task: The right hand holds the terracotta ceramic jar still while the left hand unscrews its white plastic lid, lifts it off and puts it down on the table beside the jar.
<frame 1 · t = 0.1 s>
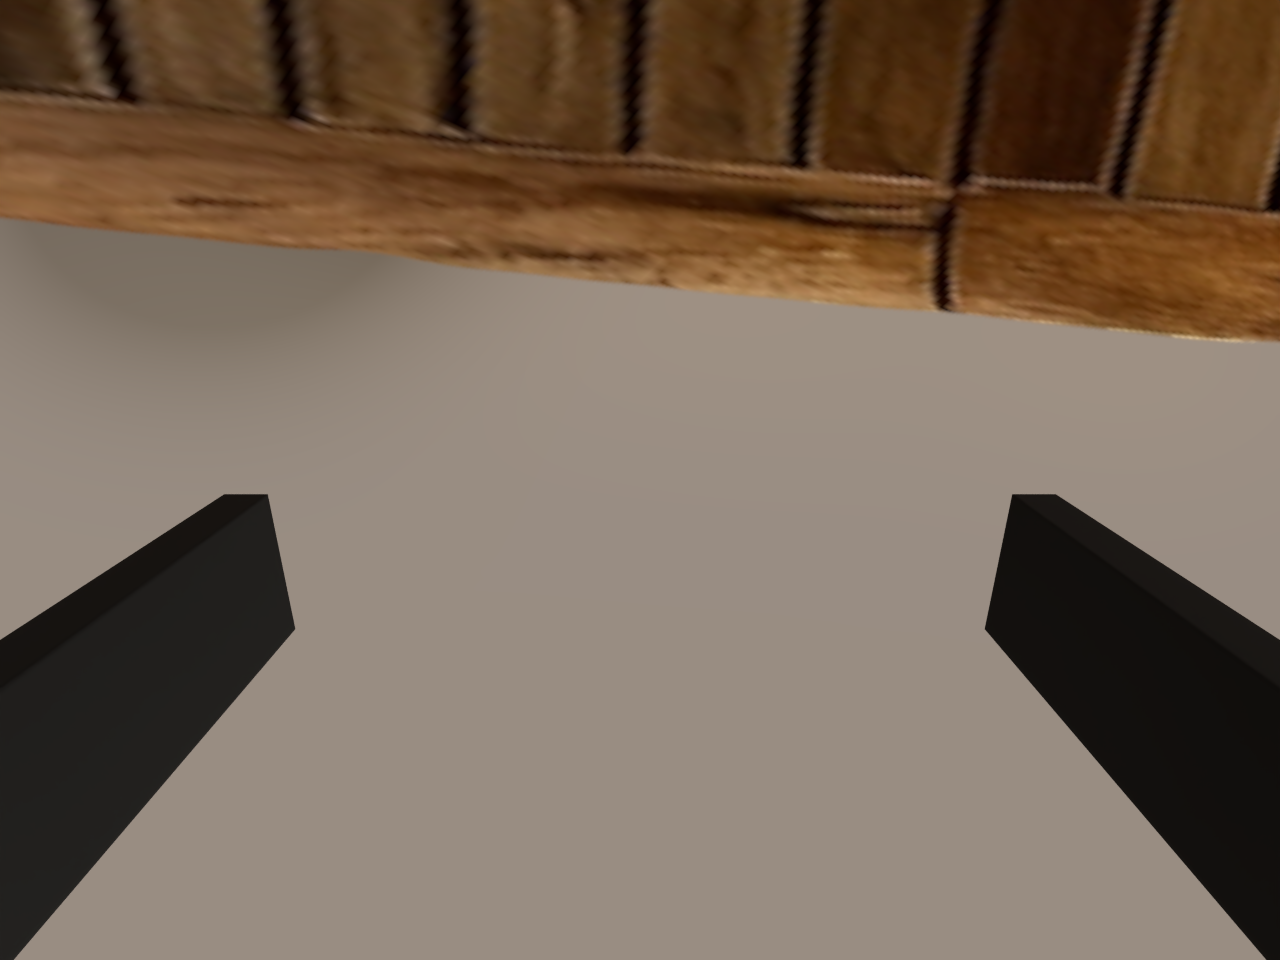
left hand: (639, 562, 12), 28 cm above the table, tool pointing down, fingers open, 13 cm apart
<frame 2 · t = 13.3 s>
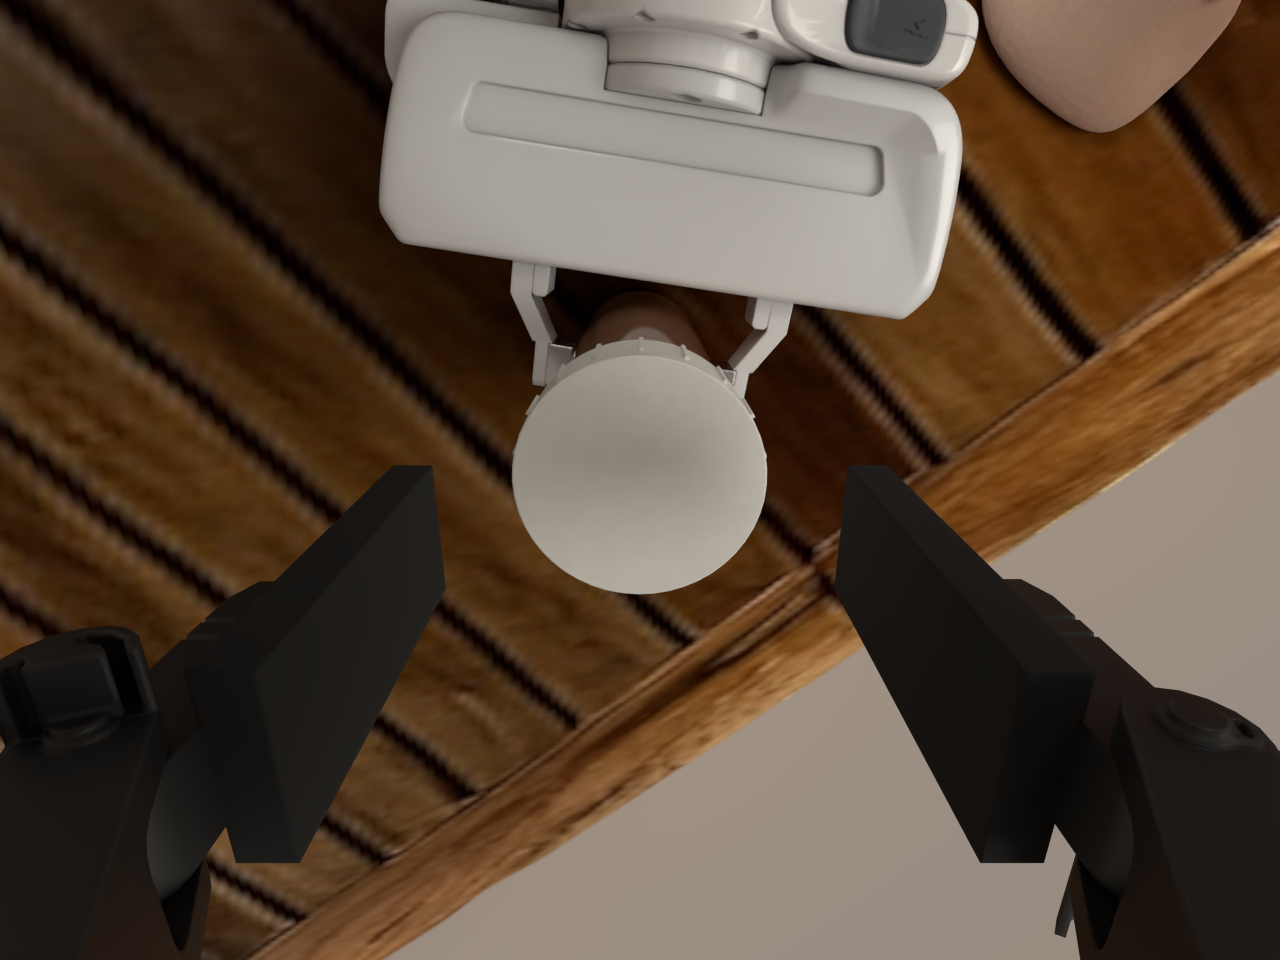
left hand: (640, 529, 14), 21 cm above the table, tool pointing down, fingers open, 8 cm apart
right hand: (637, 397, 28), fingers closed on jar, 5 cm apart
lid: (639, 477, 16), point 18 cm above the table, screwed on, not yet turned
jar: (639, 349, 33), on the table, touching right hand
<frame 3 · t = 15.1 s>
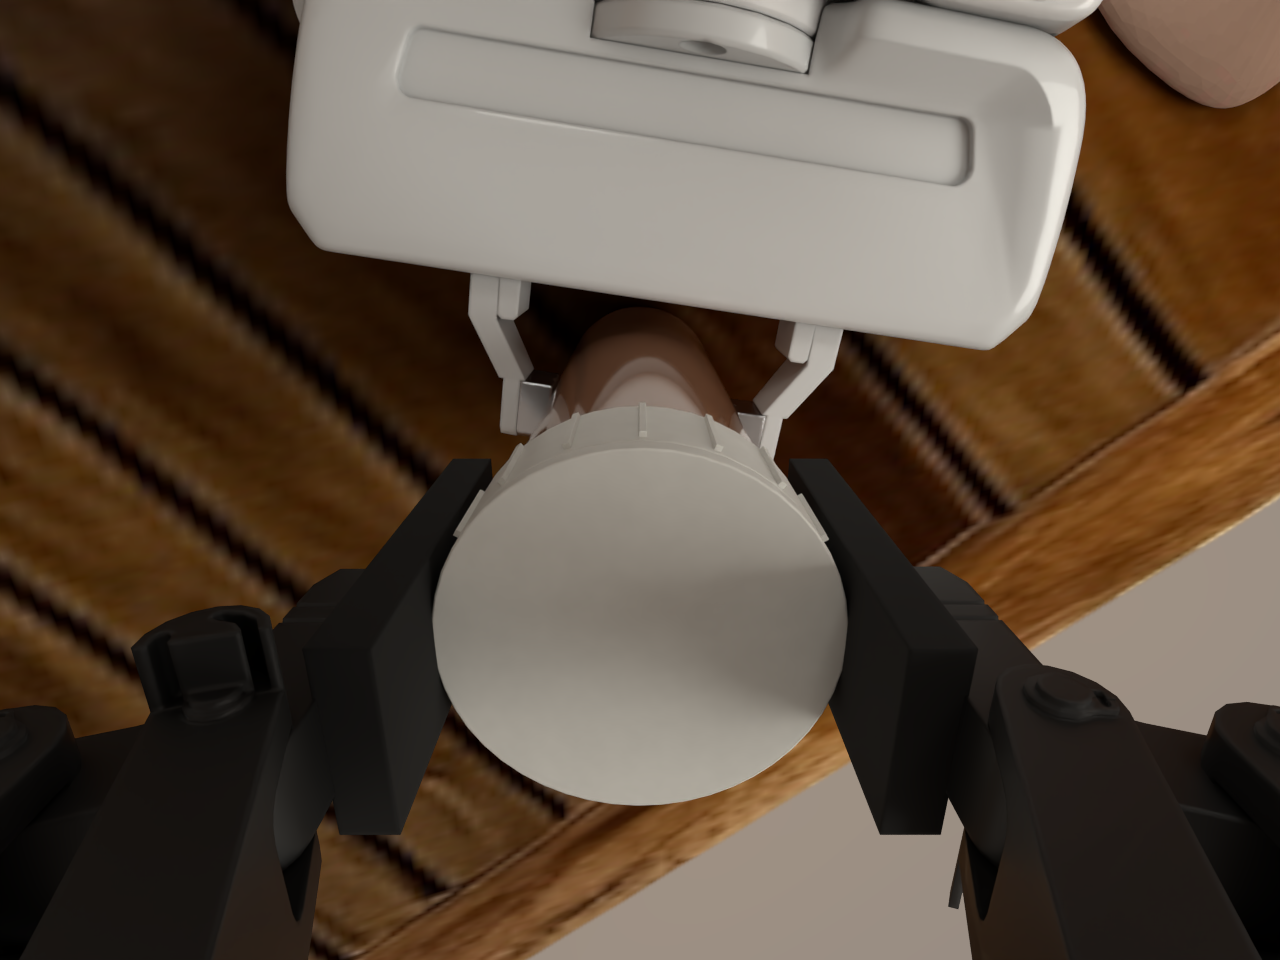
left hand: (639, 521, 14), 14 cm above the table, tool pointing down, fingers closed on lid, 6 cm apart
right hand: (637, 447, 22), fingers closed on jar, 5 cm apart
lid: (639, 632, 10), point 18 cm above the table, screwed on, not yet turned, touching left hand
jar: (640, 377, 27), on the table, touching right hand
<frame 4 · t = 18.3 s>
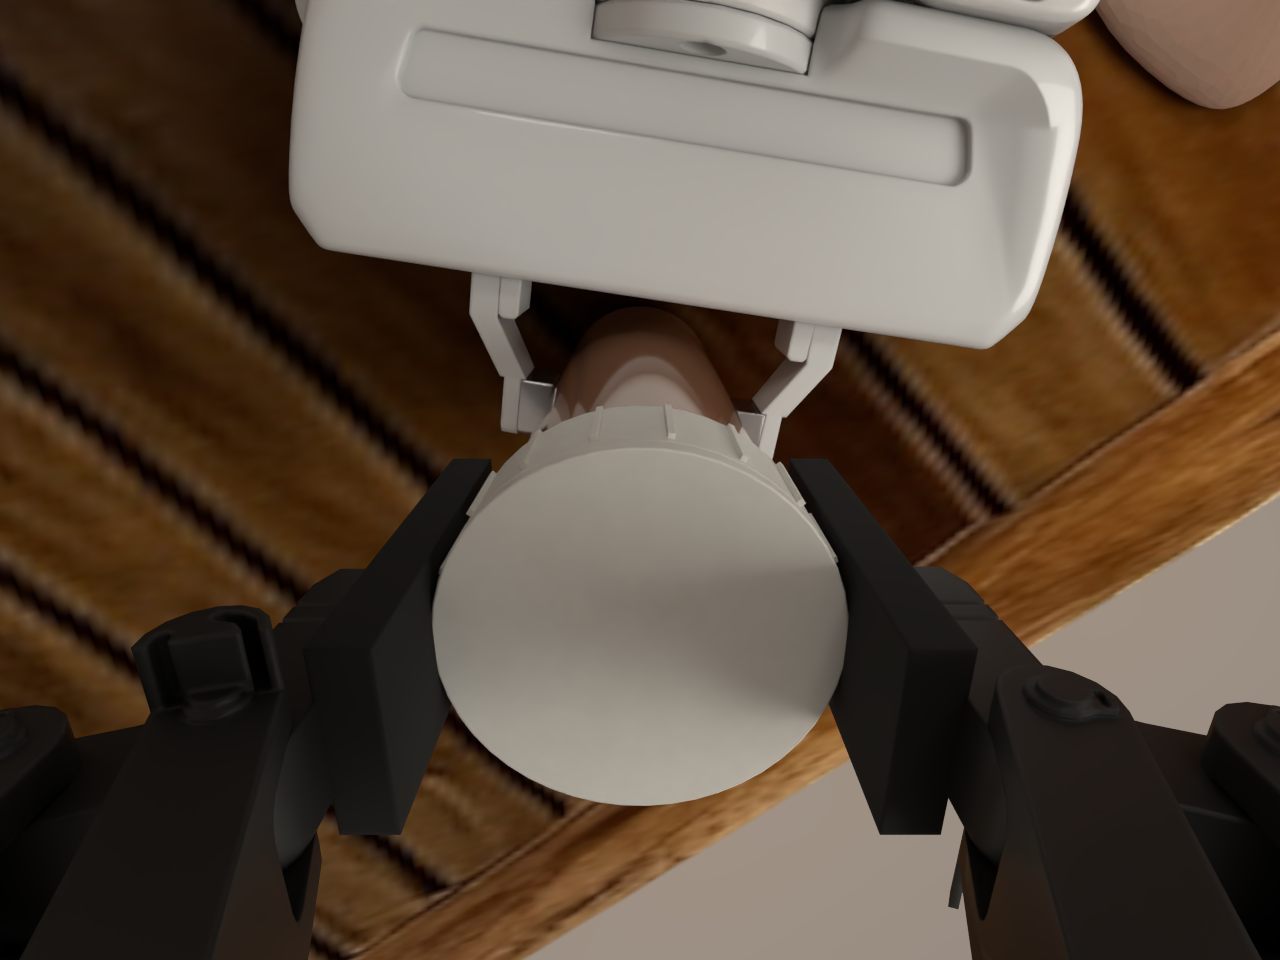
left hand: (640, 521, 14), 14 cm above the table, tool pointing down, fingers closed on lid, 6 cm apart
right hand: (637, 445, 22), fingers closed on jar, 5 cm apart
lid: (639, 632, 10), point 18 cm above the table, turned 93° so far, risen 0.1 cm, still on its thread, touching left hand
jar: (639, 376, 27), on the table, touching right hand
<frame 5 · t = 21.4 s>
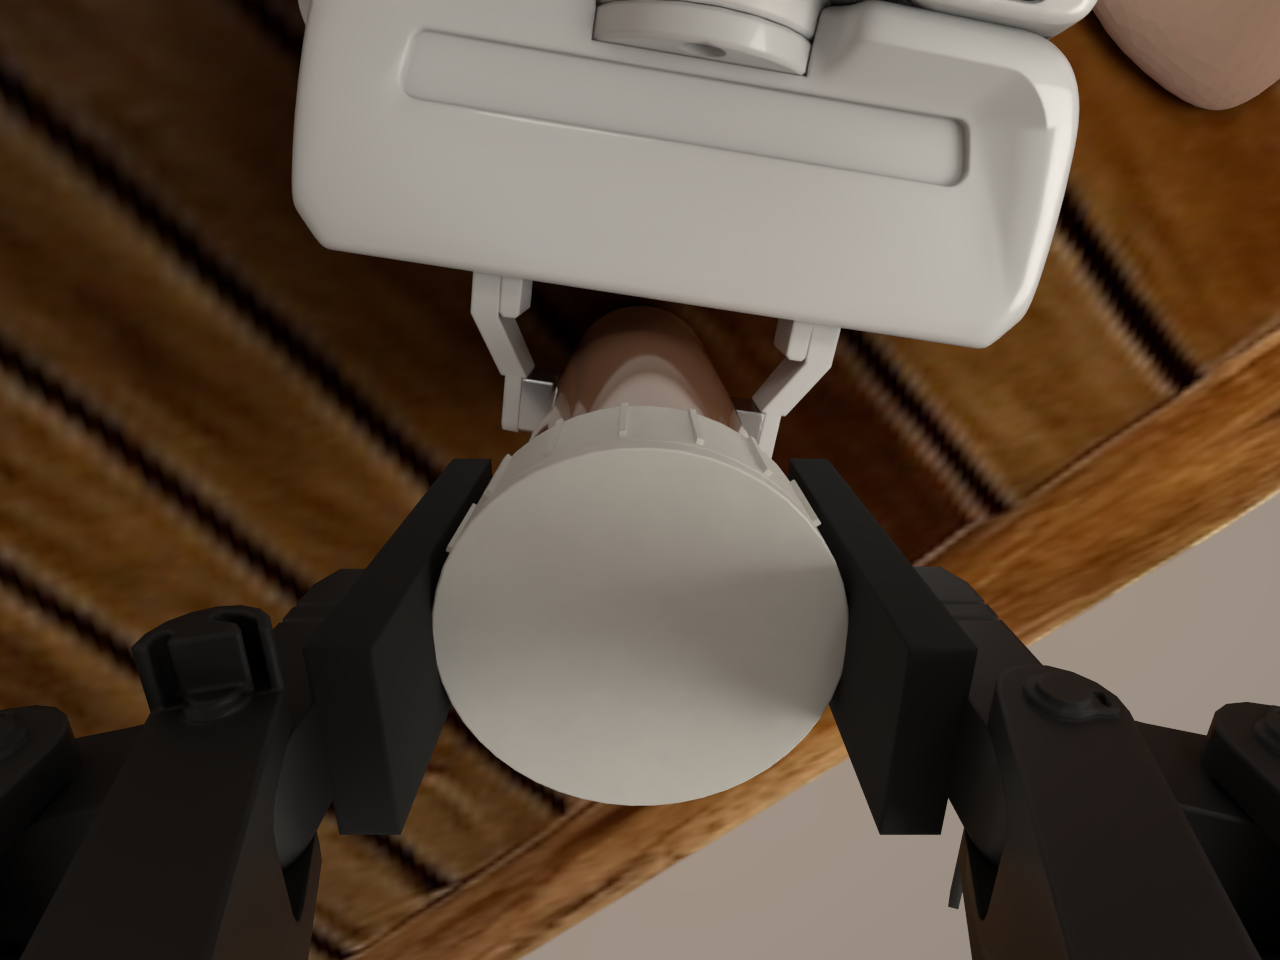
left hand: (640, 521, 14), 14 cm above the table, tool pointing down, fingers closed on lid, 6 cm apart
right hand: (637, 444, 22), fingers closed on jar, 5 cm apart
lid: (640, 632, 10), point 18 cm above the table, turned 185° so far, risen 0.3 cm, still on its thread, touching left hand
jar: (640, 376, 27), on the table, touching right hand
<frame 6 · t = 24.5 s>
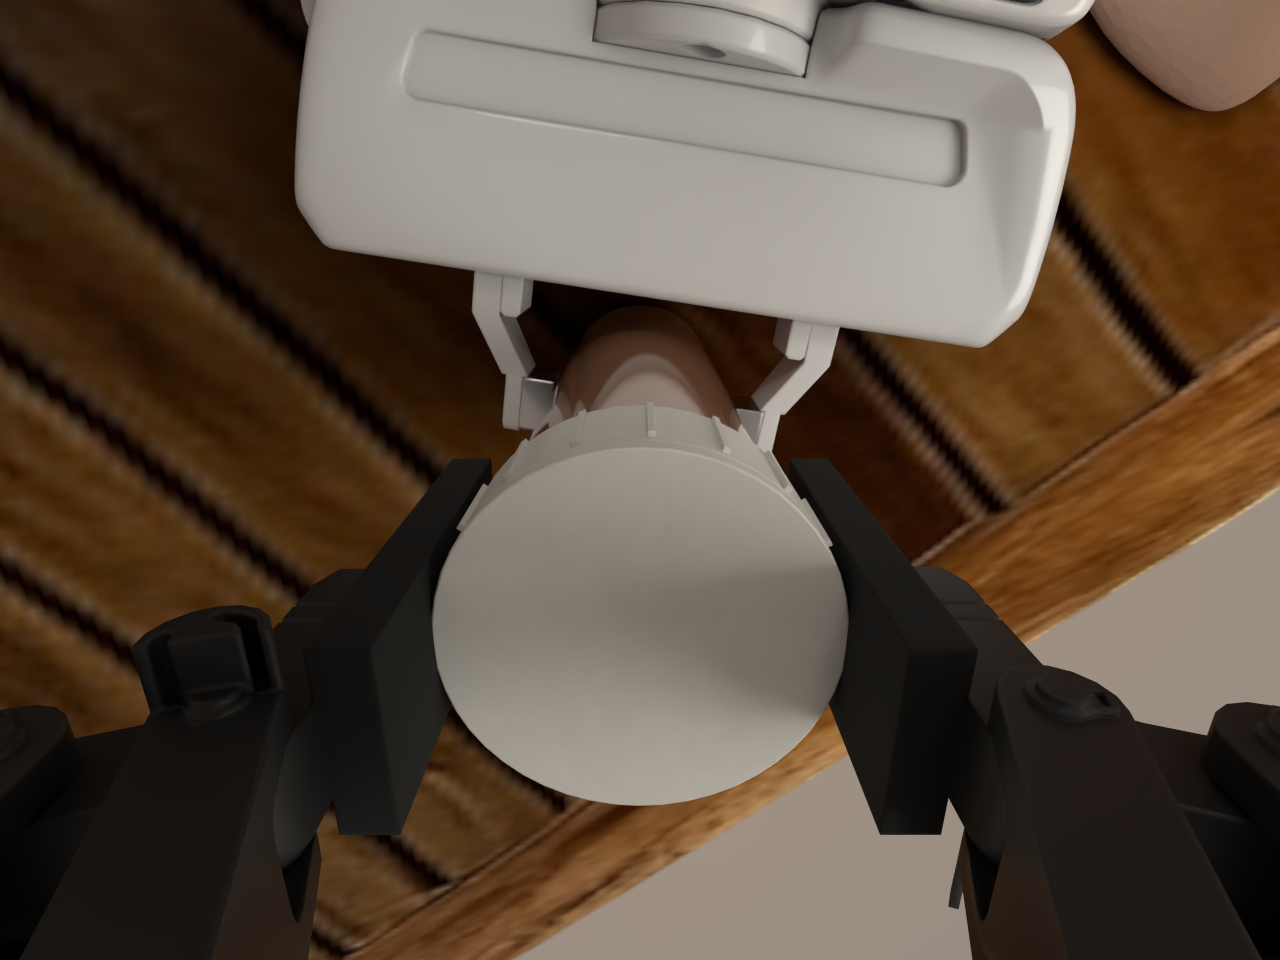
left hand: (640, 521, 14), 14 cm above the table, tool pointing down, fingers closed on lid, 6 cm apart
right hand: (637, 442, 22), fingers closed on jar, 5 cm apart
lid: (640, 632, 10), point 19 cm above the table, turned 278° so far, risen 0.4 cm, still on its thread, touching left hand
jar: (640, 375, 28), on the table, touching right hand
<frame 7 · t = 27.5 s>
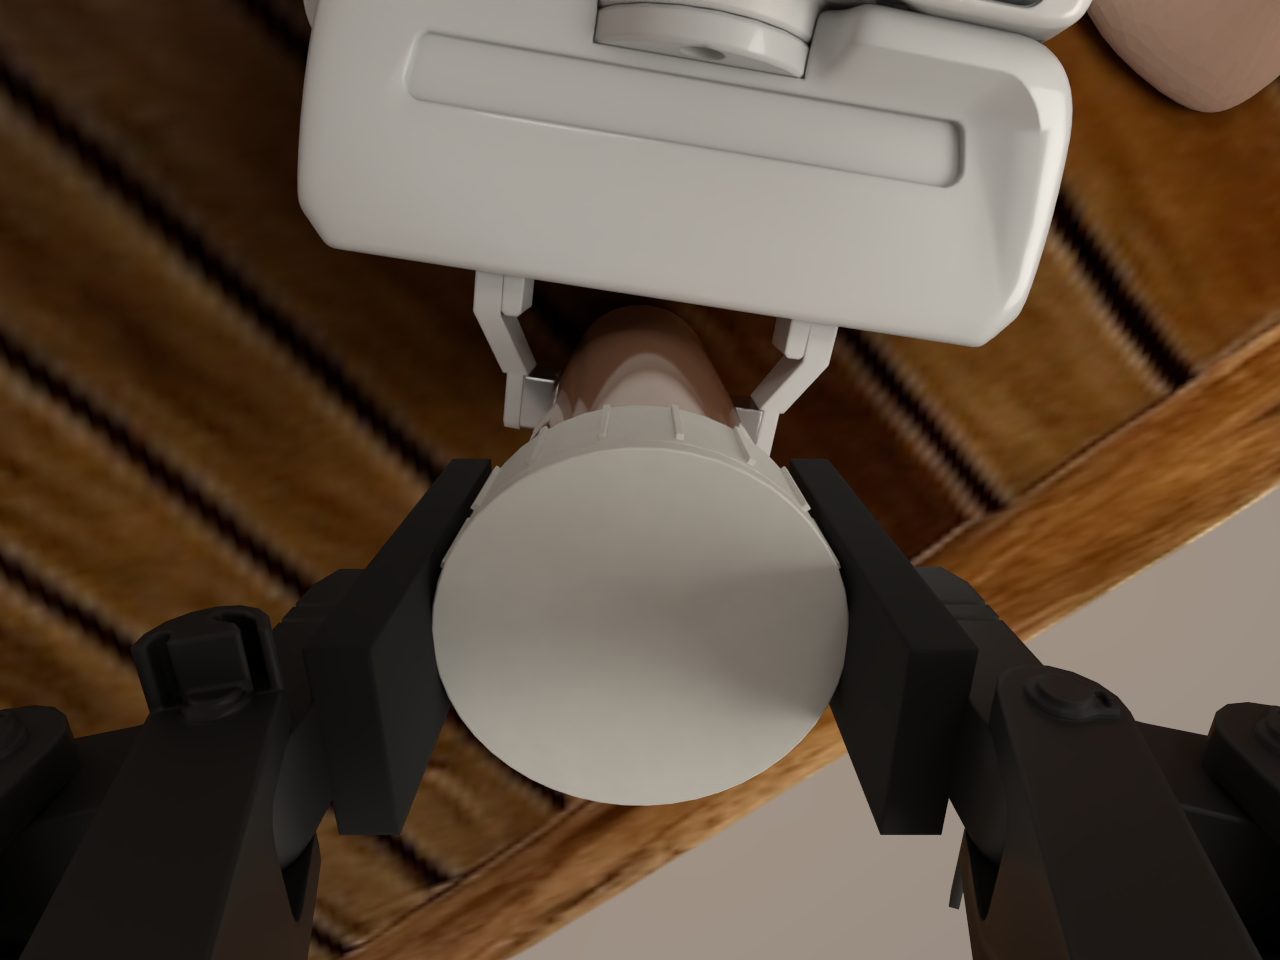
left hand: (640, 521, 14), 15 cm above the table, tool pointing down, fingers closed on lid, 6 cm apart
right hand: (637, 441, 22), fingers closed on jar, 5 cm apart
lid: (640, 632, 10), point 19 cm above the table, turned 371° so far, risen 0.6 cm, still on its thread, touching left hand
jar: (640, 374, 28), on the table, touching right hand
when the left hand's fingers open (0 cm above the table, at t = 38.9 s): lid stays where it is, point 2 cm above the table.
when the right hand's fingers open (6 cm above the table, at t = 39.7 s): jar stays where it is, on the table.
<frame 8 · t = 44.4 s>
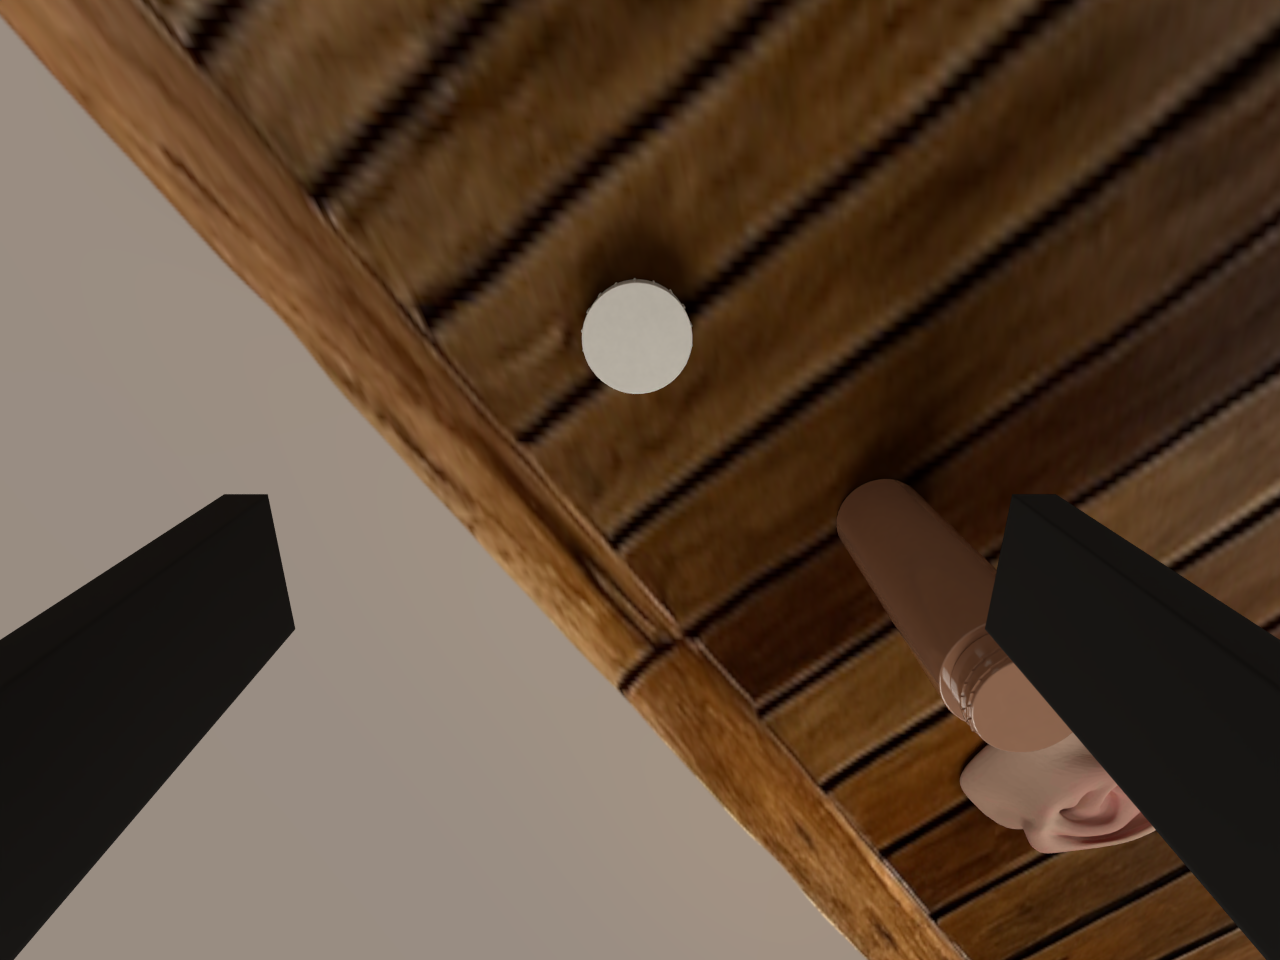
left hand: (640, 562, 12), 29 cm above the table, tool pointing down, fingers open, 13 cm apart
lid: (637, 338, 38), point 2 cm above the table, off its thread
jar: (879, 519, 43), on the table
anatomical model: (1055, 770, 51), on the table
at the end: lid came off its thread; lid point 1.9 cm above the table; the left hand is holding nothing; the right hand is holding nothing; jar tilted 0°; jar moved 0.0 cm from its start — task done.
